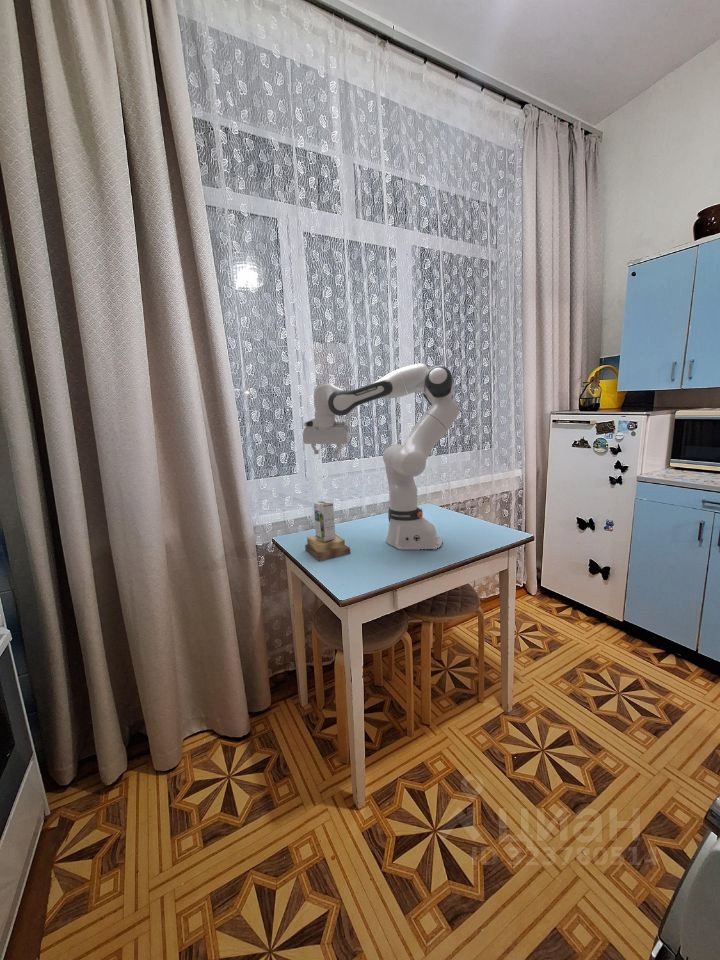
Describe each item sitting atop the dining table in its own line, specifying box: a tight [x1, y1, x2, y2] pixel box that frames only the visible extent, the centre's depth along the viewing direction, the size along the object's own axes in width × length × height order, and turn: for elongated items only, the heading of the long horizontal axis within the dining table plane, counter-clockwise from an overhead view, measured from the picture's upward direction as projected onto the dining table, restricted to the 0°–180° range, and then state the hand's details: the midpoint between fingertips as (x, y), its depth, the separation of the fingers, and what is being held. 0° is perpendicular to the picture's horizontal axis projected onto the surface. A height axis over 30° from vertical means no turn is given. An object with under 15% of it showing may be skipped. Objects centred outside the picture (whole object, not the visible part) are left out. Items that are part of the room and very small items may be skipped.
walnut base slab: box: [304, 543, 351, 562], centre depth 151 cm, size 13×13×3 cm
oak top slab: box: [306, 533, 346, 554], centre depth 151 cm, size 11×11×3 cm
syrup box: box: [313, 500, 336, 542], centre depth 149 cm, size 6×6×14 cm
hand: (326, 454), depth 171 cm, fingers open, 8 cm apart
